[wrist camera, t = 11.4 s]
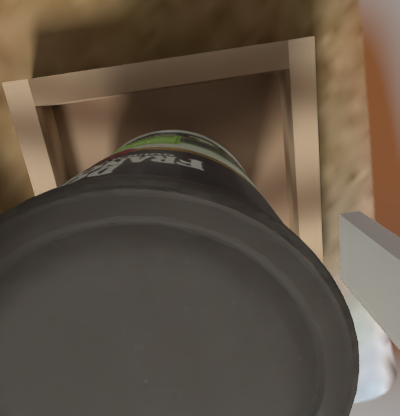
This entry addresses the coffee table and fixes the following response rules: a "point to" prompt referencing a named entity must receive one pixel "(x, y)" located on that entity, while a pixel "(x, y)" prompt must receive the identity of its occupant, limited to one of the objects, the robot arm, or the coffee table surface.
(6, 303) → the coffee can
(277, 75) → the peg frame
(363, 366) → the coffee table surface
